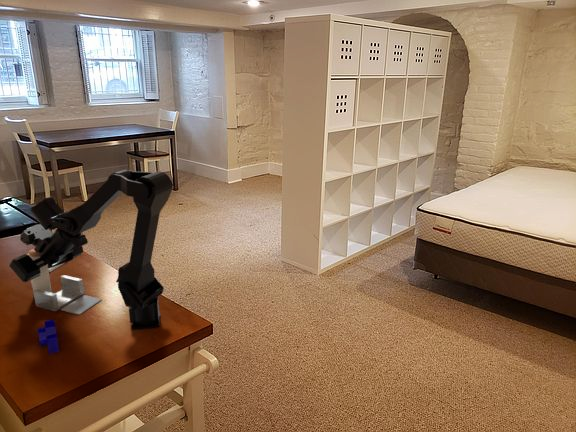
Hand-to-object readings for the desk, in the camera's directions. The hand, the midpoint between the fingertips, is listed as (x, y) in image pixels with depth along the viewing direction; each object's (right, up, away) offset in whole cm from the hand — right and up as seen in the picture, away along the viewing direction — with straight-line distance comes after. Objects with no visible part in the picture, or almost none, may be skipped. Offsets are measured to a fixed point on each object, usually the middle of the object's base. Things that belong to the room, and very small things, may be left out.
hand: (35, 272), depth 117 cm
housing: (+7, -7, 0) cm, 10 cm away
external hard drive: (-7, 0, +22) cm, 23 cm away
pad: (+14, -8, -2) cm, 16 cm away
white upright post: (+1, -6, +2) cm, 7 cm away
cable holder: (+14, -14, -18) cm, 27 cm away
